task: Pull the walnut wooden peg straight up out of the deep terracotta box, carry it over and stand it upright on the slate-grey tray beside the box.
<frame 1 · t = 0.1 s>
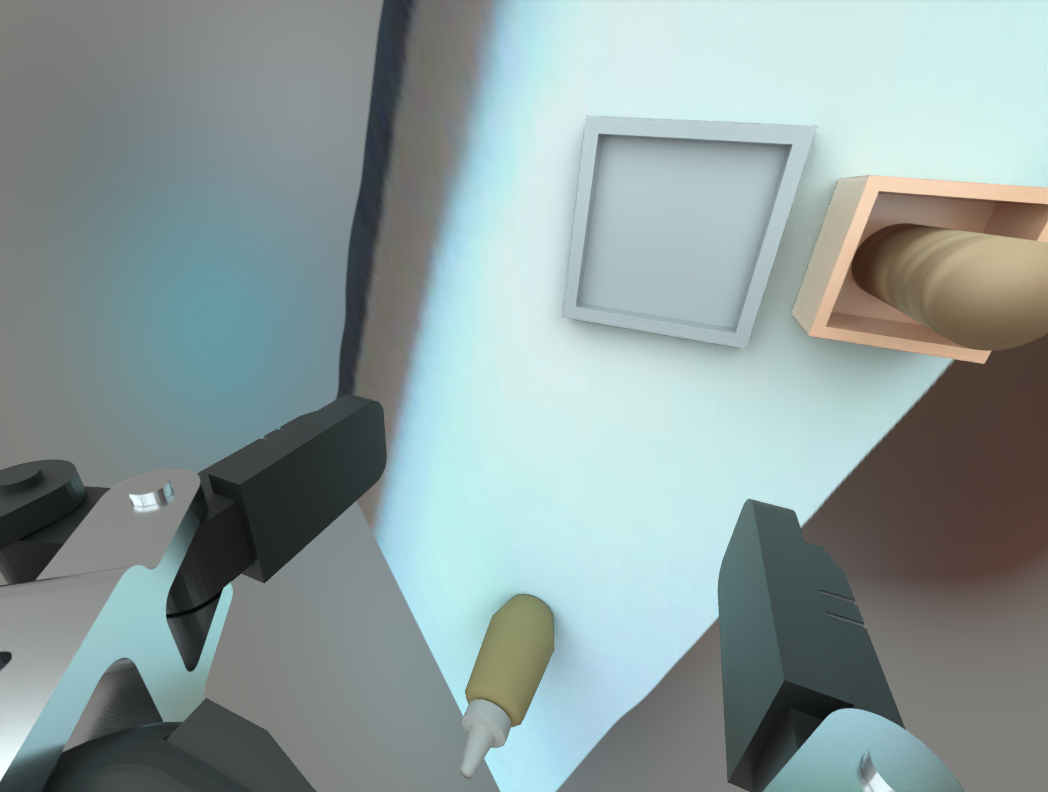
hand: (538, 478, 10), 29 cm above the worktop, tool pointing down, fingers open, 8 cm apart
squeeze bottle: (531, 609, 55), on the worktop
slate tray: (670, 234, 33), on the worktop
terracotta box: (888, 258, 29), on the worktop
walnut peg: (893, 260, 28), point 1 cm above the worktop, touching terracotta box
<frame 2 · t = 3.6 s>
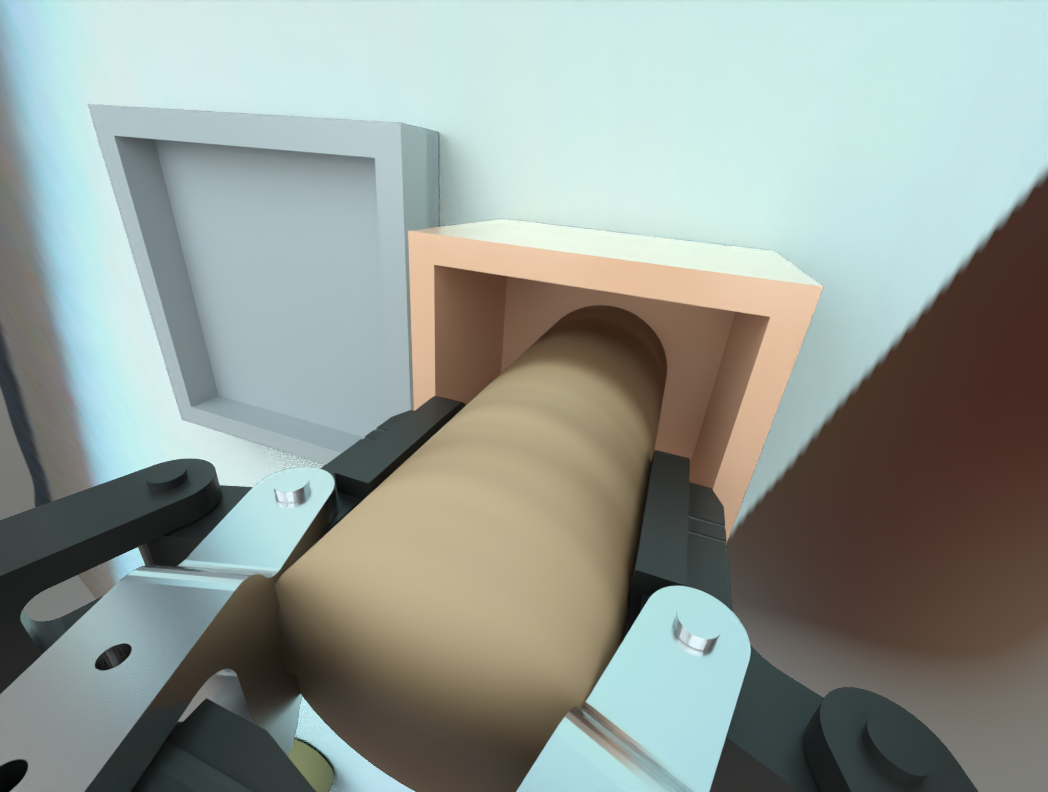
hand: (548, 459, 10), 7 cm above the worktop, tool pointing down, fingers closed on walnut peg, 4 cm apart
squeeze bottle: (311, 755, 42), on the worktop
slate tray: (303, 299, 20), on the worktop
terracotta box: (605, 359, 17), on the worktop
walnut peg: (600, 368, 16), point 1 cm above the worktop, touching gripper, terracotta box
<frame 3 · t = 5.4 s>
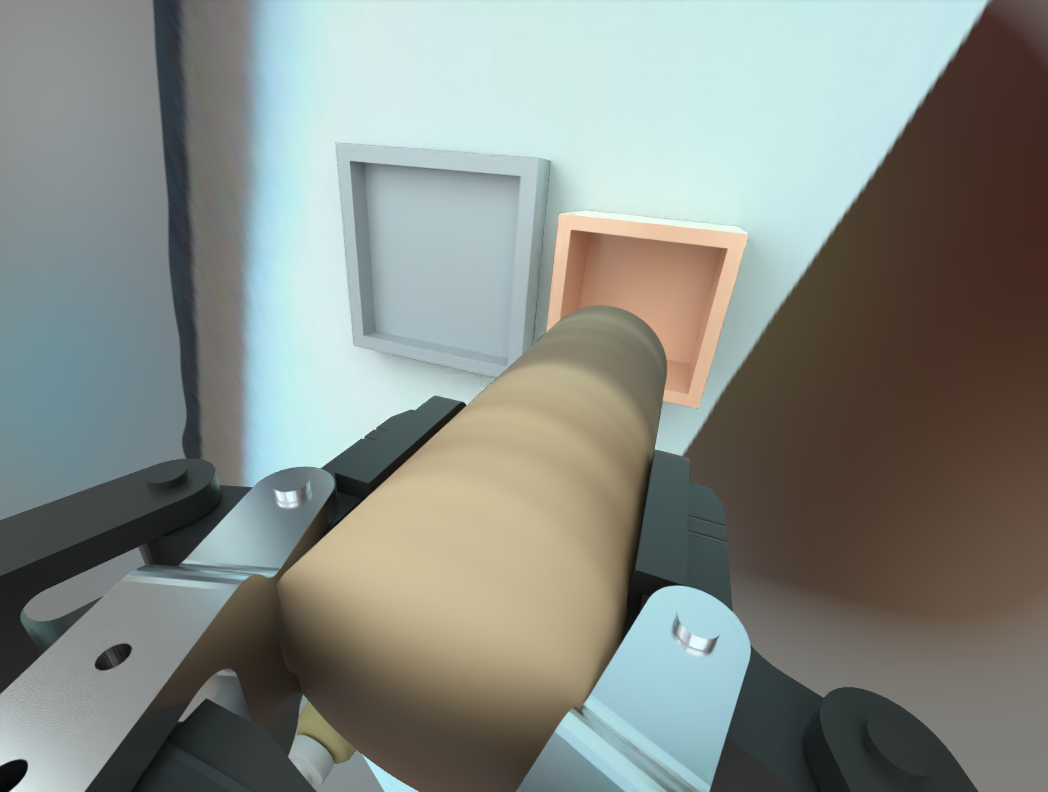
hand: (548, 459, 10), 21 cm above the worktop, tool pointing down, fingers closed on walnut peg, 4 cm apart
squeeze bottle: (394, 636, 54), on the worktop
slate tray: (447, 262, 32), on the worktop
terracotta box: (643, 292, 28), on the worktop
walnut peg: (600, 368, 16), point 15 cm above the worktop, touching gripper
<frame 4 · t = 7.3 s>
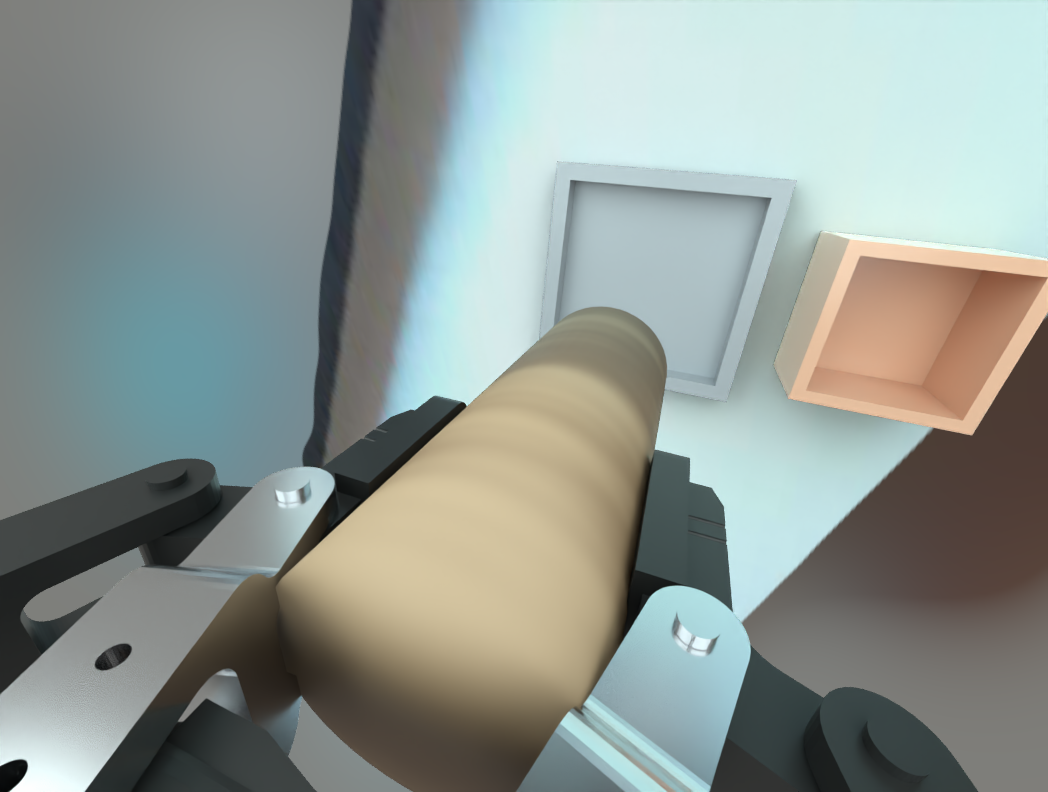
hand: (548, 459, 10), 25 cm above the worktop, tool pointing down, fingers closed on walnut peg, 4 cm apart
slate tray: (648, 280, 32), on the worktop
terracotta box: (873, 313, 28), on the worktop
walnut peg: (600, 369, 16), point 19 cm above the worktop, touching gripper
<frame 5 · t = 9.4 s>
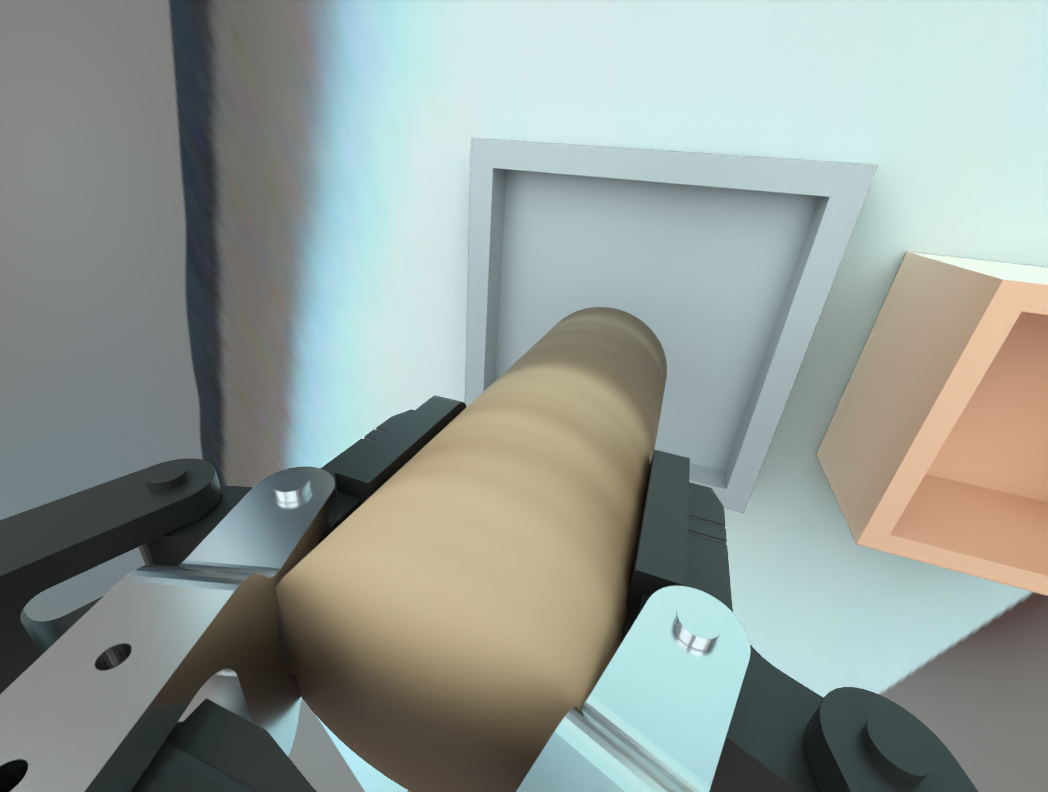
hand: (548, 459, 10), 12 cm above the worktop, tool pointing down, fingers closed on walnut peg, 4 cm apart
slate tray: (623, 323, 21), on the worktop
terracotta box: (988, 386, 17), on the worktop
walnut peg: (600, 370, 16), point 6 cm above the worktop, touching gripper
when the fingers open (8 cm above the worktop, at t = 11.1 s): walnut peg drops 1 cm, resting on slate tray.
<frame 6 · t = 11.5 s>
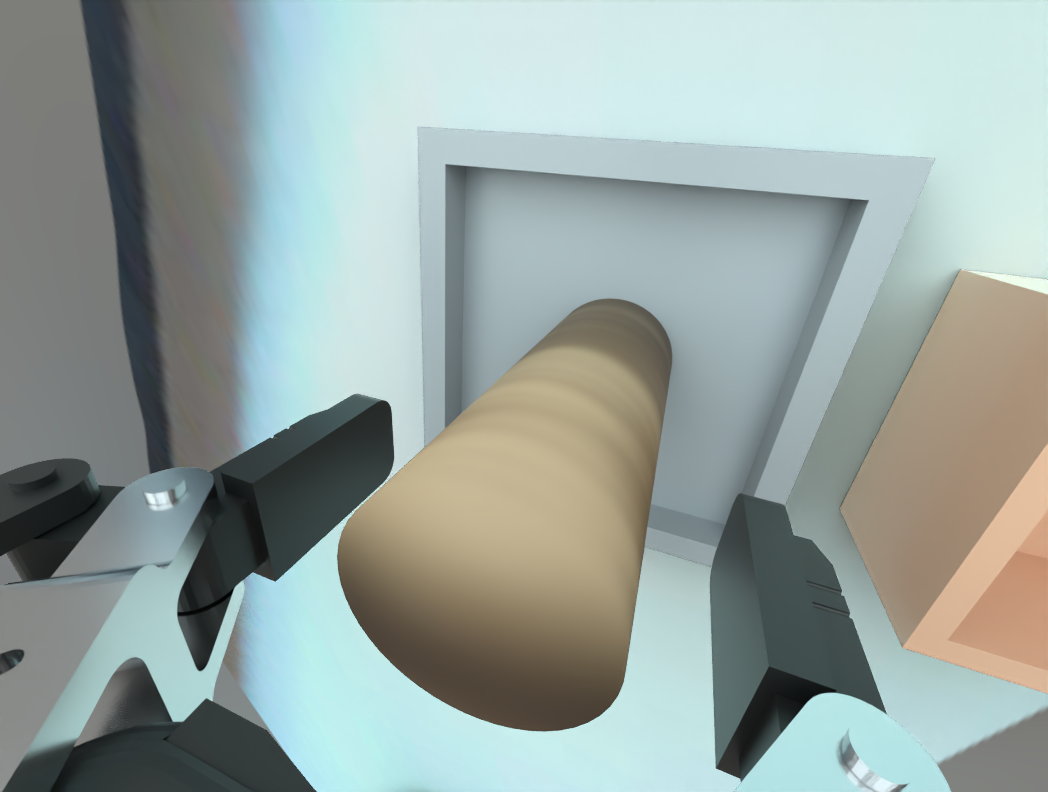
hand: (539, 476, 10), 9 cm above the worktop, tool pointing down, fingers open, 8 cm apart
slate tray: (609, 350, 17), on the worktop
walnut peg: (609, 358, 17), point 1 cm above the worktop, touching slate tray
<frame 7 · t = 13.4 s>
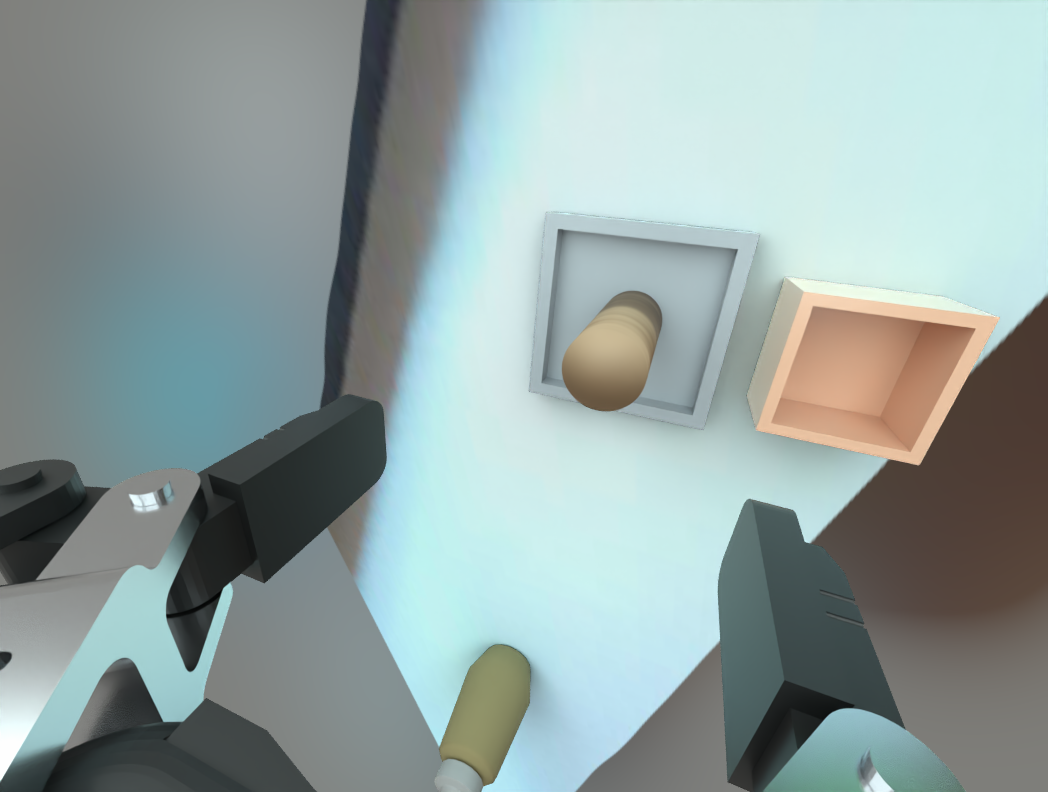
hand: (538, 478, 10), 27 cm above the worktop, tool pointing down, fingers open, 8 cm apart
squeeze bottle: (509, 659, 55), on the worktop
slate tray: (631, 317, 34), on the worktop
terracotta box: (834, 350, 31), on the worktop
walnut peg: (631, 320, 34), point 1 cm above the worktop, touching slate tray
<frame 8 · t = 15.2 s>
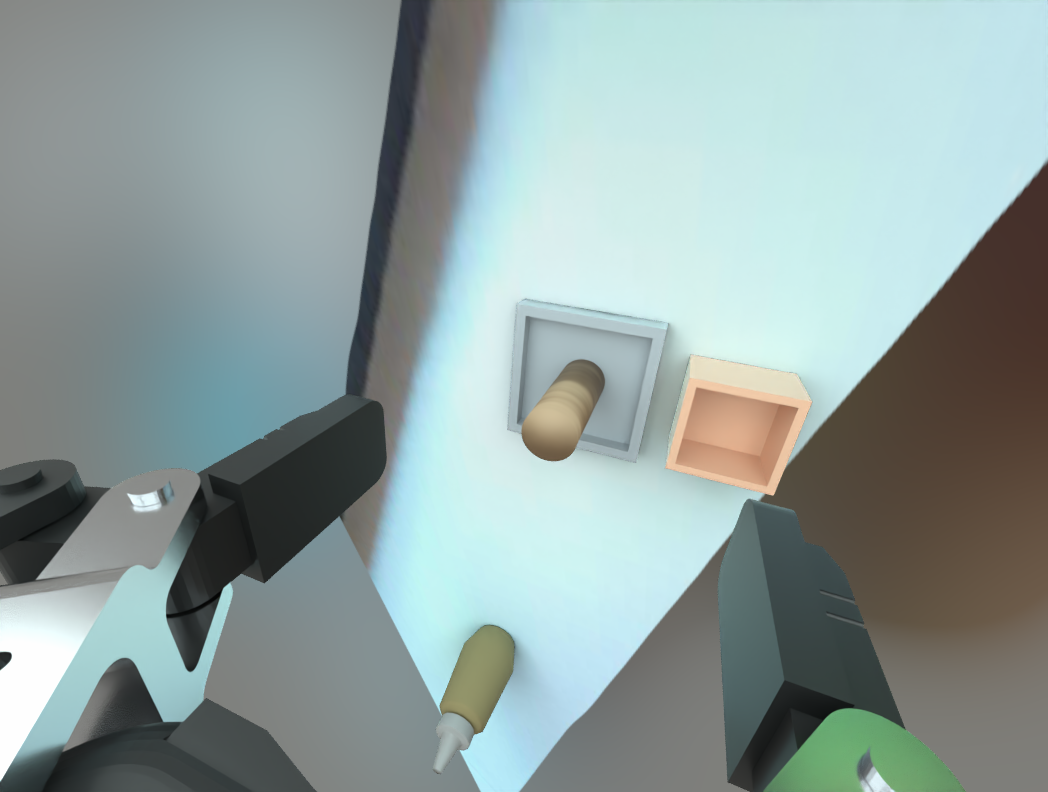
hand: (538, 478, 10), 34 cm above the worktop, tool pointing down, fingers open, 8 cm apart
squeeze bottle: (497, 637, 67), on the worktop
slate tray: (583, 377, 45), on the worktop
terracotta box: (728, 407, 42), on the worktop
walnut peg: (582, 380, 45), point 1 cm above the worktop, touching slate tray
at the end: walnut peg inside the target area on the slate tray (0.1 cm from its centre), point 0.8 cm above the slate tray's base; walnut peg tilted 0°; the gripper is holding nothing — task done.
